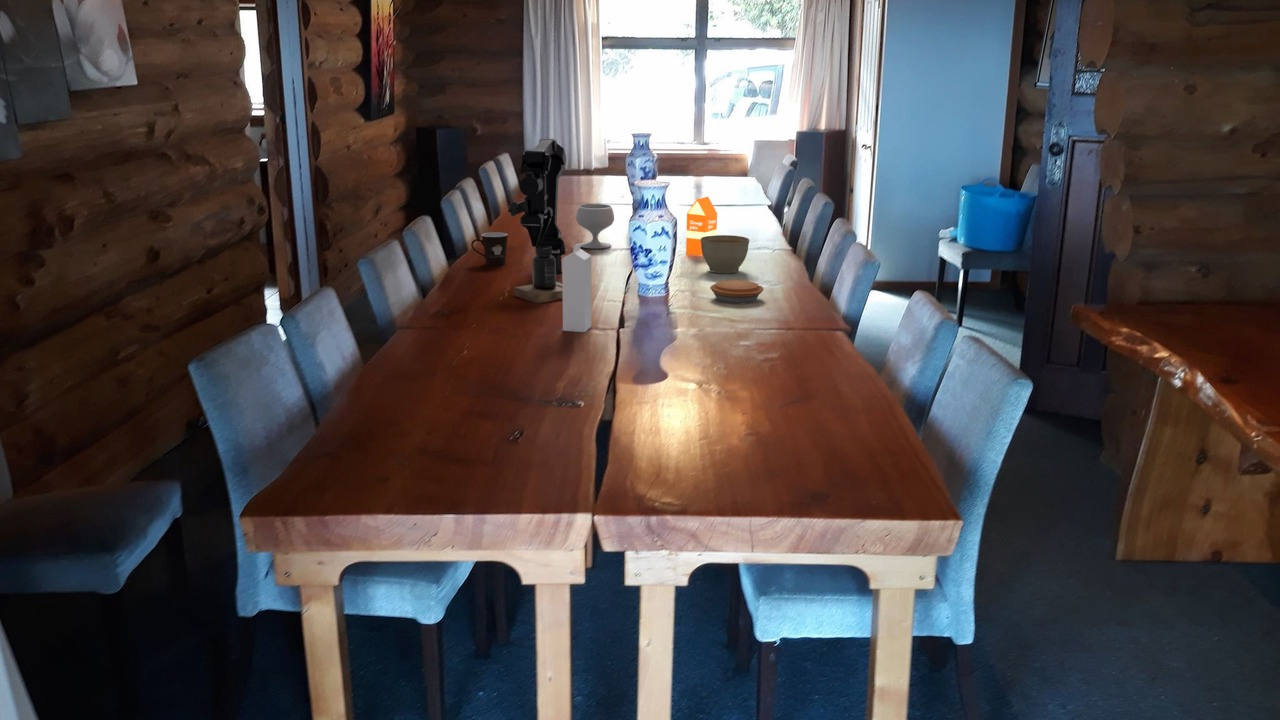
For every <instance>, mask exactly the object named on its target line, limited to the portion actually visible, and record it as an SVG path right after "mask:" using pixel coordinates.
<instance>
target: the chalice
mask: <svg viewBox="0 0 1280 720" xmlns="http://www.w3.org/2000/svg"><path fill="white" fill-rule="evenodd" d="M614 213H615V212H614V210H613V208H612V205H609V204H605V203H604V204H603V203H602V204H601V203H589V204H588V203H587V204H585V203H584V204H580V205H579V206H578V208H577V211H576V217H575V220H576V223H578V225H579V226H580V227H581V228H584V229H585V230H587V231H588V232H590V234H591V235H592V239H591V241H588V242H586V241H585V242H582V243H580V248H583V249H591V250H592V249H595V250H596V249H597V250H599V249H600V250H601V249H607V248H610V247H612V244H611V243H607V242H604V241H603V242H602V241H600V240H599V239H598V237H599V235H600V233H601V232H603V231H604V230H606V229H607V228H609V227H610V226H612V224H614V221H615V214H614Z"/></svg>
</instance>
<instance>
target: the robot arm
mask: <svg viewBox="0 0 1280 720" xmlns="http://www.w3.org/2000/svg"><path fill="white" fill-rule="evenodd" d="M565 151H566V150H565V149H564V147H562V146H561V145H560V144H558V142H557V139H555V138H543V137H542V138H540V139H539V142H538V144H537V145H536V146H534V148H526V149H525V150H524V152H523V153H522V156H521V162H520V170H519V171H520V172H519V173H520V174H521V175H523V174H524V175H525V176H524V177H523V178H522V179H521V181H520V182H519V186H518V187H519V190H520V192H521V194H522V195H524V196H525V197H524V200H522V201H519V202H517V201H513V202H509V206H507V208H508V209H507V213H509V214H510V216H511V217H515V216H516V215H519V214H522V213H523V214H522V216H520V219H519V220H520V221H519V222H520V223H519V224H520V225H521V226H522V227H523V228H525V229H526V230H527V232H528V236H529V239H530V242H531V246H532V247H535V248H536V247H538V246H550V247H552V254H551V255H552V256H554V257H555V260H556V275H558V274H562V256H564V255H566V245H565V241H564V239H563V236H562V232H561V230H560V227H559V226H558V224H557V221H558V199H559V198H558V196H559V195H558V194H559V179H560V177H561V176H562V174H564V170H565V165H566V163H567V155H566V152H565Z"/></svg>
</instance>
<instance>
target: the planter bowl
mask: <svg viewBox="0 0 1280 720" xmlns="http://www.w3.org/2000/svg"><path fill="white" fill-rule="evenodd" d="M700 242H701V250H702V254H703V256H702V257H703V260H704V262H705V264H706V265H707V266H708V268H709V272H710V273H711V272H712V273H715V274H725V275H726V274H733V273H734V274H735V273H737V272H739V269H740V267H741V266H742V265H743V264H744V261H745V260H746V257H747V255H748V251H749V244H750V238H749V237H745V236H741V235H740V236H739V235H729V234H718V235H714V236H705V237H702V238H701V239H700Z"/></svg>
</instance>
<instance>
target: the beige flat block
mask: <svg viewBox="0 0 1280 720" xmlns="http://www.w3.org/2000/svg"><path fill="white" fill-rule="evenodd" d="M513 296H514V297H517V298H520V299H523V300H527V301H529V302H532V303H535V304H541V303H546V302H547V303H548V302H551V301H553V302H554V301H559V300H558V299H560V300H563V287H562V283H561V282H559V281H556V287H555V288H553V289H548V290H540V289H535V288H534V287H533V283H532V284H527V285H519V286H514V287H513Z"/></svg>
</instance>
